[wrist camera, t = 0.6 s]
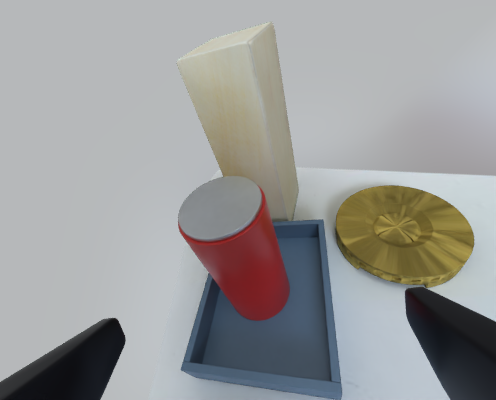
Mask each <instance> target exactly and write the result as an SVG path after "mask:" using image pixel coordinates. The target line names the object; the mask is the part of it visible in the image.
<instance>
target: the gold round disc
mask: <svg viewBox="0 0 496 400" xmlns="http://www.w3.org/2000/svg"><path fill="white" fill-rule="evenodd" d="M336 235H337V243H338V246H339V248H340V250H341V252H342V254H343V255H344V256H345V258H346V259H347V260H348V261H349V262H350V263H351V264H352V265H353V266H354V267H355V268H356V269H357V270H358V269H359V268H360V267H361V268H362V269H364V270H365V271H367V272H369V273H371V274H373V275H375V276H377V277H380V278H382V279H385V280H388V281H392V282H396V283H402V284H410V285H422V284H424V285H425V286H426V288H428V287H433V286H437V285H440V284H443V283H445V282H447V281H448V280H450V279H451V278H453V277H454V276H455V275H456V274H457V273H458V272H459V271H460V270H461V268H462V267H463V265H464V264H465V263H466V261H467V260H468V258H469V257H470V255H471V253H472V251H473V247H474V235H473V231H472V229H471V226H470V224H469V223H468V221H467V220H466V218H465V217H464V216H463V215H462V214H461V213H460V212H459V211H458V210H457V209H456V208H455V207H454V206H452V205H451V204H450V203H448V202H447V201H445V200H443V199H441V198H439V197H438V196H435V195H433V194H431V193H428V192H425V191H422V190H419V189H415V188H410V187H403V186H378V187H372V188H368V189H364V190H362V191H359V192H357V193H355V194H353V195H352V196H350V197H349V198H348V199H346V200H345V201H344V202H343V204H342V205H341V206H340V208H339V210H338V213H337V216H336Z"/></svg>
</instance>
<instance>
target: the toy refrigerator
mask: <svg viewBox="0 0 496 400" xmlns="http://www.w3.org/2000/svg"><path fill="white" fill-rule="evenodd" d="M177 66H178V69H179V71H180V73H181V76H182V78H183V81H184V83H185V85H186V88H187V90H188V93H189V95H190V97H191V99H192V102H193V105H194V107H195V109H196V112H197V114H198V117H199V119H200V121H201V124H202V126H203V129H204V131H205V133H206V136H207V138H208V141H209V143H210V145H211V148H212V150H213V152H214V155H215V157H216V160H217V162H218V164H219V167H220V169H221V172H222V174H223V176H224V177H226V176H241V177H245V178H248V179H250V180H252V181H253V182H255V183H256V184H257V185H258V186H259V187H260V188H261V189H262V190H263V192H264V194H265V197H266V201H267V205H268V208H269V212H270V215H271V219H272V222H283V221H292V220H293V215H294V210H295V206H296V201H297V196H298V182H297V176H296V169H295V162H294V156H293V149H292V142H291V136H290V130H289V123H288V117H287V110H286V103H285V96H284V90H283V83H282V76H281V70H280V64H279V57H278V50H277V43H276V37H275V30H274V26H273V23H272V22H268V23H264V24H261V25H257V26H254V27H250V28H247V29H244V30H240V31H237V32H233V33H230V34H226V35H223V36H220V37H217V38H213V39H211V40H210V41H208V42H206V43H205V44H203V45H201V46H199V47H198V48H196V49H195V50H193V51H191V52H190V53H188V54H186V55H185V56H183V57H181V58H180V59H178V60H177Z"/></svg>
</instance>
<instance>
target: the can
mask: <svg viewBox="0 0 496 400" xmlns="http://www.w3.org/2000/svg"><path fill="white" fill-rule="evenodd" d="M178 226H179V230H180V233H181V234H182V236H183V237H184V239H185V240H186V242H187V243H188V244H189V246H190V247H191V248H192V250H193V251H194V253H195V254H196V255H197V257H198V258H199V260H200V261H201V262H202V264H203V265H204V266H205V268H206V269H207V271H208V272H209V273H210V275H211V276H212V278H213V279H214V280H215V282H216V283H217V284H218V286H219V287H220V289H221V290H222V291H223V293H224V294H225V296H226V297H227V298H228V300H229V301H230V302H231V304H232V305H233V307H234V308H235V309H236V311H237V312H238V313H239V314H240V315H242V316H243V317H245V318H247V319H250V320H255V321H261V320H266V319H269V318H271V317H273V316H275V315H276V314H278V313H279V312H280V311H281V310H282V309H283V307H284V306H285V304H286V302H287V300H288V298H289V293H290V285H289V280H288V277H287V273H286V269H285V266H284V262H283V259H282V255H281V251H280V248H279V244H278V241H277V237H276V233H275V230H274V226H273V223H272V219H271V215H270V212H269V208H268V205H267V201H266V197H265V194H264V192H263V190H262V189H261V188H260V187H259V186H258V185H257V184H256V183H255V182H253V181H252V180H250V179H248V178H245V177H241V176H226V177H221V178H217V179H214V180H212V181H209V182H208V183H205V184H203V185H202V186H200V187H198V188H197V189H196V190H195V191H193V192H192V193H191V194H190V195H189V196H188V197H187V198H186V200H185V201H184V202H183V204H182V206H181V208H180V211H179V215H178Z"/></svg>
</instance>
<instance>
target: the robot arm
mask: <svg viewBox="0 0 496 400" xmlns="http://www.w3.org/2000/svg"><path fill="white" fill-rule="evenodd" d="M405 304H406V316H407V319H408V322H409V324H410V326H411V328H412V330H413V332H414V333H415V335H416V337H417V339H418V341H419V343H420V345H421V347H422V349H423V351H424V353H425V354H426V356H427V358H428V360H429V362H430V364H431V366H432V368H433V370H434V372H435V374H436V375H437V377H438V379H439V381H440V383H441V385H442V386H443V388H444V390H445V391H446V393H447V395H448V396H449V398H450V400H496V322H495V321H493V320H491V319H489V318H487V317H485V316H483V315H481V314H479V313H477V312H474V311H472V310H470V309H468V308H466V307H464V306H462V305H460V304H458V303H456V302H453V301H451V300H449V299H447V298H445V297H443V296H441V295H439V294H437V293H435V292H432V291H430V290H428V289H426V288H424V287H416V288H408V289H406V290H405ZM124 345H125V335H124V333H123V330H122V328H121V326H120V324H119V321H118V320H117V319H116V318H108V319H103V320H101V321H99V322H98V323H96V324H95V325H93V326H91V327H90V328H88V329H87V330H85V331H83V332H81V333H80V334H78V335H77V336H75V337H74V338H72V339H70V340H68V341H67V342H65V343H63V344H62V345H60V346H58V347H57V348H55V349H54V350H52V351H50V352H49V353H47V354H45V355H44V356H42V357H40V358H39V359H37V360H36V361H34V362H32V363H31V364H29V365H27V366H26V367H24V368H23V369H21V370H19V371H18V372H16V373H14V374H13V375H11V376H10V377H8V378H6V379H4V380H3V381H1V382H0V400H100V399H101V397H102V395H103V393H104V390H105V388H106V386H107V384H108V382H109V379H110V377H111V375H112V372H113V370H114V368H115V366H116V363H117V361H118V359H119V356H120V354H121V352H122V350H123V348H124Z"/></svg>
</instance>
